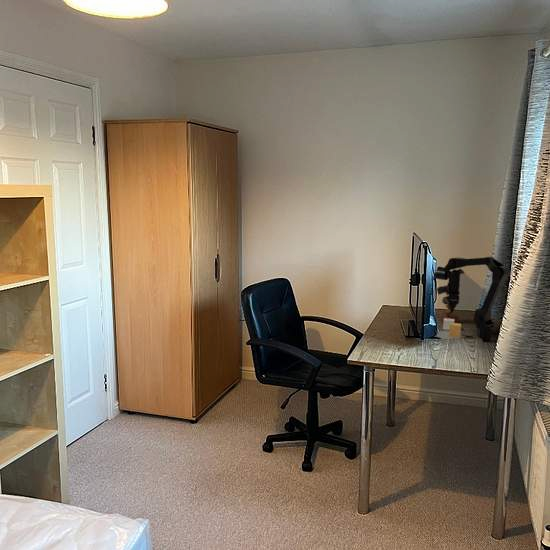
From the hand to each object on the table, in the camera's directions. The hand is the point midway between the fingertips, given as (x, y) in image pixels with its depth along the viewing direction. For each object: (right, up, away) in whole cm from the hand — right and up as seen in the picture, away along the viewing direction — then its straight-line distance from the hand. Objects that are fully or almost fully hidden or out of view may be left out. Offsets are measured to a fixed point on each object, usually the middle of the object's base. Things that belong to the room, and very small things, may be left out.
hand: (452, 310), depth 296 cm
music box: (+7, -8, +29) cm, 31 cm away
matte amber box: (-2, -12, -10) cm, 16 cm away
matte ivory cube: (0, -11, +6) cm, 13 cm away
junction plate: (-6, -13, -8) cm, 17 cm away
